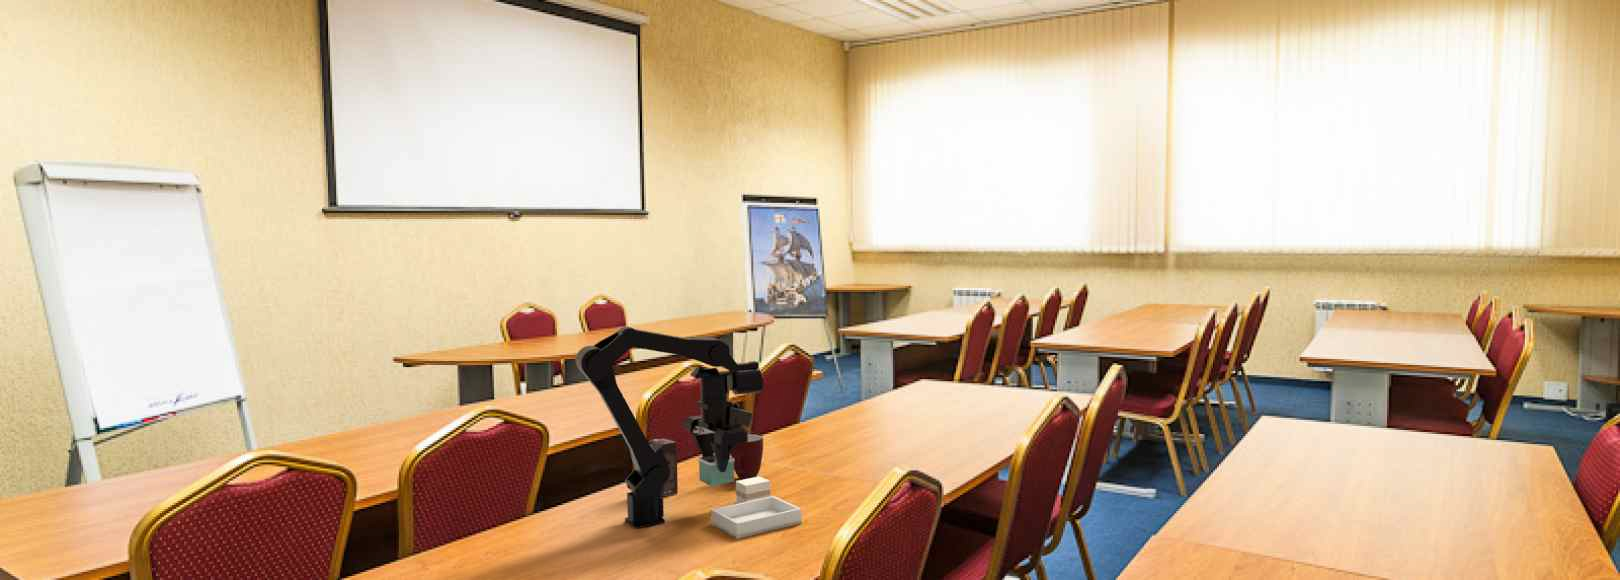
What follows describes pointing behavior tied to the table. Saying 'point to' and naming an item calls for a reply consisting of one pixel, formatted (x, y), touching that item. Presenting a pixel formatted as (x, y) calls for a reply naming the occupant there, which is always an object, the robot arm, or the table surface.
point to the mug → (748, 457)
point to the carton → (752, 489)
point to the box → (671, 456)
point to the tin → (715, 471)
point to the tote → (756, 516)
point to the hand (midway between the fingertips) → (716, 468)
